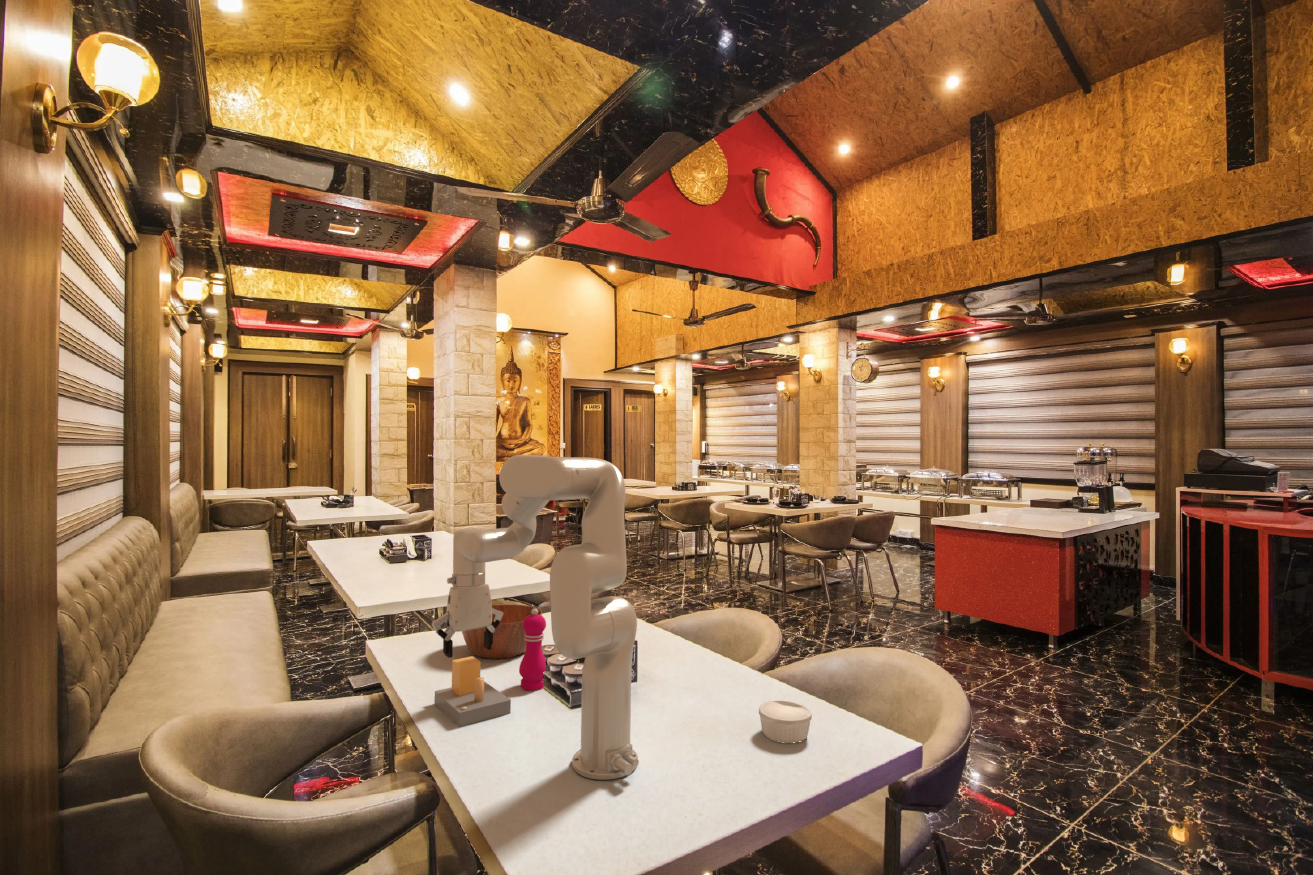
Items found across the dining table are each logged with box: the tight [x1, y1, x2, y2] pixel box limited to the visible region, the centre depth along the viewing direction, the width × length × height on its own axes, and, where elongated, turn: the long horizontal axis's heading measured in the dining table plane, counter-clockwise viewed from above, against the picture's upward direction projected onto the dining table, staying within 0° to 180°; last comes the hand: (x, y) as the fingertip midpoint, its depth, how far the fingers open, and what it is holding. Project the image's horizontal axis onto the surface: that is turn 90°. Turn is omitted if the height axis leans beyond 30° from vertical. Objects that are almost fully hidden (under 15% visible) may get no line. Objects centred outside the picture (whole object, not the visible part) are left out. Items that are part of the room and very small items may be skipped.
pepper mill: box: [518, 607, 547, 692], centre depth 155 cm, size 7×7×20 cm
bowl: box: [461, 604, 543, 660], centre depth 184 cm, size 25×25×11 cm
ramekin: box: [758, 700, 813, 744], centre depth 128 cm, size 11×11×5 cm
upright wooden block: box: [451, 655, 482, 696], centre depth 143 cm, size 5×5×7 cm
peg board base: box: [434, 676, 512, 728], centre depth 140 cm, size 16×12×8 cm
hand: (468, 652), depth 143 cm, fingers open, 9 cm apart
